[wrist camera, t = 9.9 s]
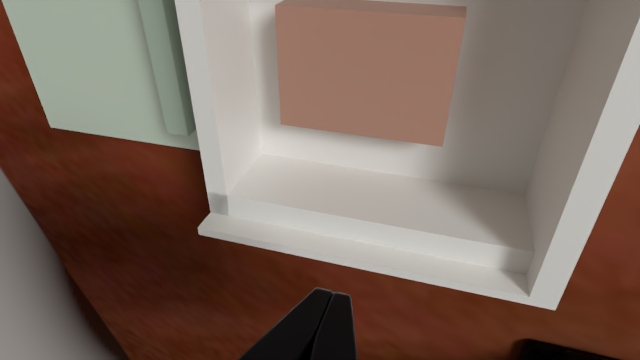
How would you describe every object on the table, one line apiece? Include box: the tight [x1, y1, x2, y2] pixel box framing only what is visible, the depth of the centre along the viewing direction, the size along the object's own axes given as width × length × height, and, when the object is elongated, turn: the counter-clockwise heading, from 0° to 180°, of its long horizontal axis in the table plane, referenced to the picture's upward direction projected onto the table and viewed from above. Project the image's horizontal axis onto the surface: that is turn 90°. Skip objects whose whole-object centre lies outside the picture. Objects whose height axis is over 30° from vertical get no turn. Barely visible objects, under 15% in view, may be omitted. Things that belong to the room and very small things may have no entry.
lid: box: [2, 0, 200, 151], centre depth 22 cm, size 13×14×3 cm
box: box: [175, 0, 640, 310], centre depth 17 cm, size 14×15×6 cm
